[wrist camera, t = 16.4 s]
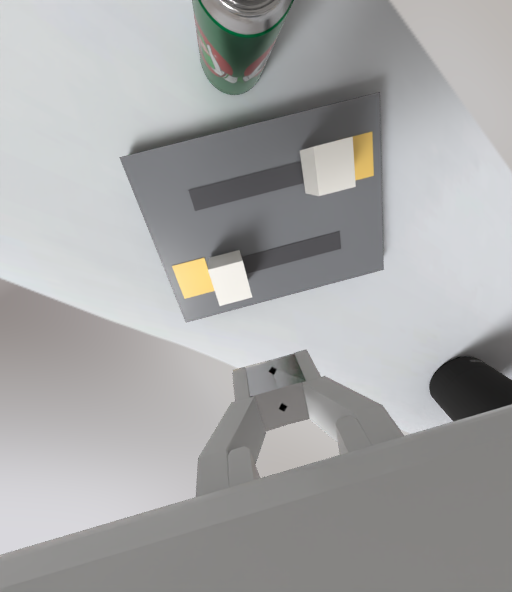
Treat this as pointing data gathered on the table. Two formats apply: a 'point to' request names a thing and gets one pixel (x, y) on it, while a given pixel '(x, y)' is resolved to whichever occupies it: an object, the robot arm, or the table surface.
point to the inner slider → (328, 167)
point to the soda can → (237, 39)
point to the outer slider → (229, 278)
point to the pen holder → (469, 388)
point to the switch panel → (263, 206)
